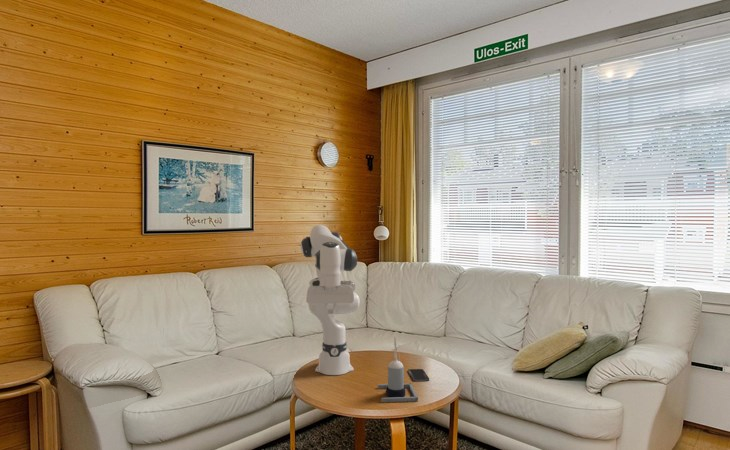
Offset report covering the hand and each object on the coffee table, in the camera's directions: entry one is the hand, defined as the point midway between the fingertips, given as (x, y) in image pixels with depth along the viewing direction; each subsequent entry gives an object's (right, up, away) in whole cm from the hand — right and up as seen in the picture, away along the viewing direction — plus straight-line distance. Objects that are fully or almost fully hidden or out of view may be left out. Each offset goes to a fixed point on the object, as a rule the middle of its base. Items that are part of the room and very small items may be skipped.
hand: (330, 313), depth 192 cm
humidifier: (+28, -35, +2) cm, 45 cm away
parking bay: (+28, -35, +3) cm, 45 cm away
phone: (+40, -35, +26) cm, 59 cm away
